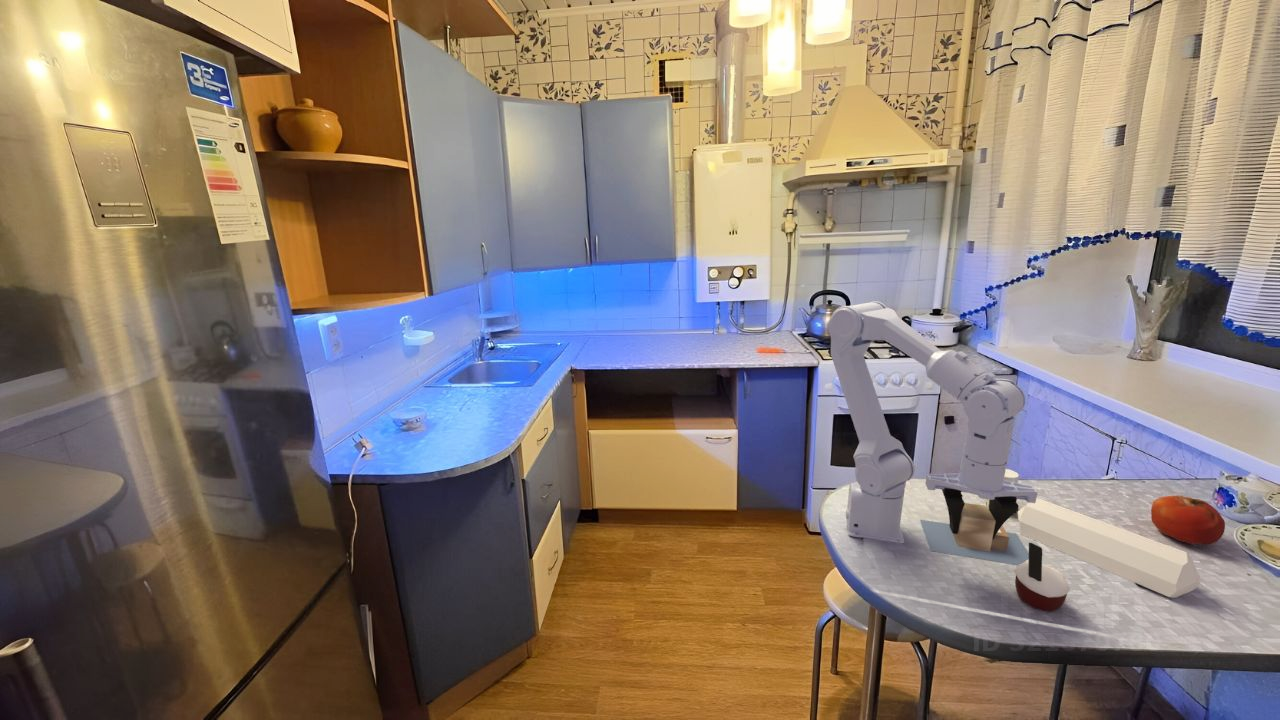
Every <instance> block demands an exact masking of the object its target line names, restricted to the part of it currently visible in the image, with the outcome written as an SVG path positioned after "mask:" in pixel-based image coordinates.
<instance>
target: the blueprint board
mask: <svg viewBox="0 0 1280 720" xmlns="http://www.w3.org/2000/svg"><path fill="white" fill-rule="evenodd" d="M919 521H920V524H921V528H922V530H923V534H924V536H925V539H926V542H927V544H928V545H927V546H928V548H929V550H930V552H934V553H939V554H946V555H947V554H948V555H952V556H958V557H963V558H965V557H966V558H971V559H977V560H982V561H989V562H996V563H1003V564H1009V565H1014V566H1018V565H1020V564H1022V563H1024V562H1025V561H1026V560H1028V559H1029V550H1028V549H1027V548H1026V547H1025V545H1024V543H1023V542H1022V541H1021V539H1020V537H1019V535H1018V534H1017V533H1016V532H1009V531H1006V532H1007V534H1008V536H1009V541H1008V546H1007V551H999V550H993V549H990V551H984V550H978V549H971V548H965V547H959V546H957V543H956V541H955V538H954V536H953V534H952V531H951V529H950V523H947V522H938V521H933V520H925V519H919Z"/></svg>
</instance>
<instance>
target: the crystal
mask: <svg viewBox="0 0 1280 720" xmlns="http://www.w3.org/2000/svg"><path fill="white" fill-rule="evenodd" d="M1017 519H1018V526H1019V531H1020V535H1021V536H1025V538H1029V539H1030V540H1033V541H1036V542H1039V543H1040V544H1043V545H1045V546H1048V547H1050V548H1052V549H1055V550H1056V551H1060V552H1062V553H1064V554H1067V555H1069V556H1071V557H1074V558H1076V559H1078V560H1081V561H1083V562H1085V563H1088V564H1090V565H1092V566H1095V567H1097V568H1099V569H1102V570H1104V571H1107V572H1109V573H1112V574H1114V575H1116V576H1118V577H1120V578H1123V579H1125V580H1128V581H1130V582H1133V583H1135V584H1136V585H1140V586H1142V587H1145V588H1146V589H1149V590H1152V591H1154V592H1156V593H1158V594H1160V595H1163V596H1166V597H1168V598H1174V599H1176V598H1178V597H1180V596H1183V595H1185V594H1188V593H1190V592H1192V591H1195V590H1196V589H1197V588H1198V587H1199V585H1200V584H1201V579H1200V578H1201V577H1200V573H1199V571H1198V569H1197V567H1196V564H1195V562H1194V559H1193V558H1192V556H1191V555H1190V554H1189V553H1188V552H1186V551H1183V550H1181V549H1178V548H1175V547H1173V546H1170V545H1168V544H1165V543H1161V542H1159V541H1156V540H1153V539H1150V538H1148V537H1146V536H1142V535H1140V534H1137V533H1135V532H1132V531H1129V530H1126V529H1124V528H1121V527H1118V526H1115V525H1112V524H1110V523H1106V522H1104V521H1103V520H1099V519H1095V518H1093V517H1091V516H1088V515H1085V514H1082V513H1079V512H1077V511H1074V510H1072V509H1068V508H1067V507H1063V506H1060V505H1058V504H1054V503H1053V502H1050V501H1047V500H1044V499H1041V498H1038V497H1037V498H1036V503H1029V502H1027V503H1026V504H1025V505H1024V506H1022V508H1020V509H1018V511H1017Z"/></svg>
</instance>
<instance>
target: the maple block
mask: <svg viewBox="0 0 1280 720" xmlns="http://www.w3.org/2000/svg"><path fill="white" fill-rule="evenodd" d="M964 503H965V505H964V507H963V510H962V513H961V517H960V523H959V530H958V533H957V534H953V533H952V534H953V536H954V538H955V541H956V543H957V546H959V547H965V548H971V549H978V550H984V551H990V548H991V543H992V538H993V533H994V527H995V522H996V521H995V519H994V517H993V516H992V514H991V512H990V511H989V508H988V507H987V506H986V505H984V504H983V505H982V504H975V503H969V502H964Z"/></svg>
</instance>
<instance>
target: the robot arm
mask: <svg viewBox="0 0 1280 720" xmlns="http://www.w3.org/2000/svg"><path fill="white" fill-rule="evenodd" d="M826 327H827V331H828V333H829V336H830V356H831V360H832V362H833V365H834V369H835V371H836V375H837V377H838V380H839V383H840V386H841V389H842V393H843V396H844V399H845V402H846V405H847V407H848V411H849V414H850V417H851V421H852V422H853V426H854V430H855V431H856V435H857V438H858V445H857V448H856V449H855V452H854V454H853V456H852V457H853V460H854V463H855V464H854V465H855V470H854V475H855V480H856V481H857V482H855V483H854V482H853V483H851V482H850V483H849V486H848V487H849V488H848V496H847V508H846V509H845V510H846V512H845V519H846V522H847V525H846V526H847V534H848V535H849V536H850V537H854V538H860V539H861V538H862V539H864V538H868V539H873V540H874V539H875V540H880V541H885V542H892V543H897V544H899V543H900V544H905V540H904V535H903V532H902V528H901V522H902V521H901V520H902V512H903V504H904V497H905V490H906V489H905V488H906V484H907V482H908V481H910V480H911V479H912V478H913V477H914V476H915V471H916V468H915V464H914V461H913V460H912V458H911V457H910V456H909V455H908V453H907V452H906V450H905V448H904V446H903V443H902V442H901V441H900V440H899V439H896V437H894V436H892V435H891V433H890V429H889V427H888V424H887V421H886V419H885V416H884V412H883V409H882V406H881V403H880V400H879V398H878V395H877V392H876V389H875V386H874V382H873V379H872V377H871V374H870V371H869V368H868V364H867V362H866V360H865V354H866V353H867V351H868V349H869V347H870V346H871V344H872V343H874V341H885V342H886V343H888V344H890V345H891V346H893V347H894V348H896V349H898V350H899V351H901V352H902V353H904V354H906V356H909V357H910V358H912V359H914V360H915V361H916V362H917V363H919V364H921V365H922V366H924V367H925V373H926V377H927V378H928V379H929V380H930V381H932V382H933V383H935V384H936V385H937V386H939V387H940V388H941V389H943V390H944V391H945V392H947V393H948V394H949V395H950V396H952V397H953V398H955V399H956V400H958V401H959V402H960V403H962V407H963V410H964V412H965V414H966V416H967V418H968V421H967V427H966V433H965V438H964V443H963V450H962V455H961V460H960V461H961V462H960V468H959V472H958V473H928V472H927V473H926V477H925V486H926V489H927V490H929V491H936V489H937V490H941V491H942V493H943V497H944V499H945V503H946V506H947V512H948V517H949V524H950V529H951V531H952V533H953V534H957V533H958V530H959V523H960V517H961V513H962V510H963V507H964V505H965V503H966V502H965V501H964V498H963V494H962V493H965V494H967V493H968V494H972V495H976V496H977V497H978V498H980V499H983V500H987V499H989V508H988V509H989V511H990V512H991V514H992V516H993V517H994V519H995V521H996V522H995V527H994V533H993V538H992V539H994V538H995V536H996V534H997V532H998V531H999V529H1000V528H1001V526H1003V525H1004V524H1005V523H1006V522H1007V521H1008V519H1010V518H1011V517H1012V516H1013V515H1015V514H1017V513H1018V511H1019V506H1020V505H1019V503H1017V501H1016V500H1022V501H1026V502H1027V503H1036V498H1038V490H1036V488H1035V487H1034V485H1028V484H1022V483H1014V482H1010V481H1006V480H1004V476H1005V470H1006V469H1007V464H1008V460H1009V454H1010V450H1011V449H1010V448H1011V444H1012V437H1013V432H1014V427H1015V421H1016V418H1015V417H1014V416H1016V415H1019V413H1020V412H1021V411H1023V409H1024V407H1025V404H1026V396H1025V393H1024V391H1023V390H1022V388H1021V387H1019V386H1018V385H1017V384H1016V383H1015V382H1014V381H1013V380H1011V379H1007V378H997V375H996V374H994V373H993V372H991V371H990V372H986V371H985V370H984V369H982V368H981V367H979V366H978V365H976V364H975V363H973V362H972V361H971V360H969V359H968V357H969V355H968V354H967V353H965V352H963V351H958V352H957V351H956V350H953V349H949V350H941V349H939V348H938V347H937V346H936V345H935V344H934V343H932V342H930V340H928V339H927V338H925V337H924V336H923V335H922V334H920V332H918V331H916V330H915V329H914V328H913V327H912V326H910V325H909V324H908V323H907V322H905V321H904V320H902V319H901V318H900V317H899V316H898V314H897V312H896V311H895V310H894V309H892V308H890V307H887V305H885V303H882V302H880V301H877V300H872V301H868V302H866V303H865V302H864V303H859V304H854V305H844V306H839V307H838V308H836V309H835V310H834V311H833V313H832V314H831V315H830V318H829V320H828V322H827V324H826Z"/></svg>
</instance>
